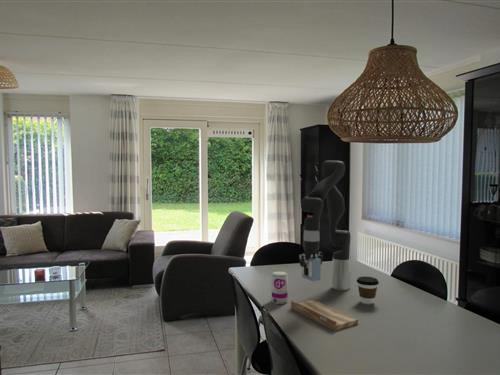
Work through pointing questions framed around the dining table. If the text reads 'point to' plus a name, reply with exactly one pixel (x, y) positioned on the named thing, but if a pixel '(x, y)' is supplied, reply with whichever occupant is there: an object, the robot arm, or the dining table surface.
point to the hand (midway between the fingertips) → (310, 274)
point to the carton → (313, 270)
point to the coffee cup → (367, 289)
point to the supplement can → (279, 287)
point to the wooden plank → (324, 314)
